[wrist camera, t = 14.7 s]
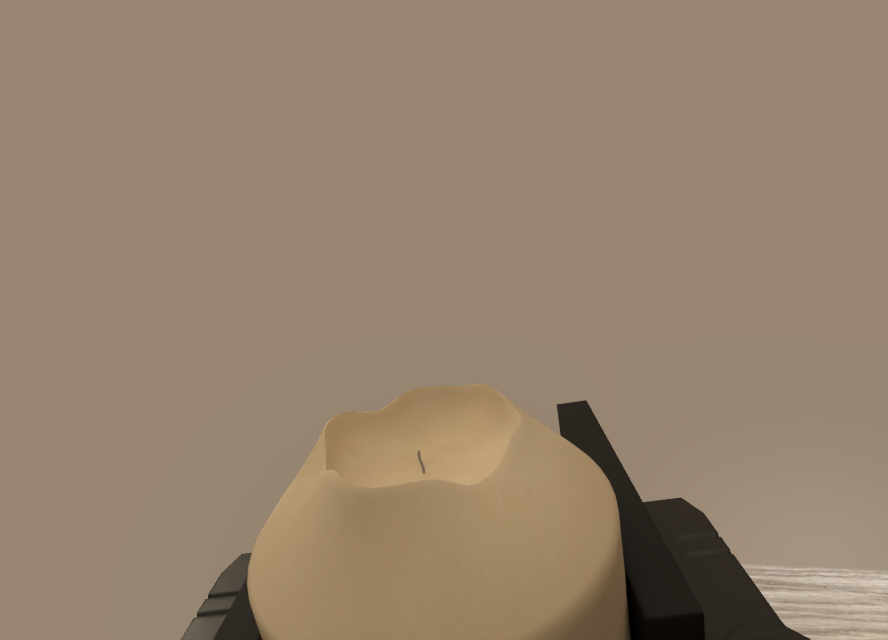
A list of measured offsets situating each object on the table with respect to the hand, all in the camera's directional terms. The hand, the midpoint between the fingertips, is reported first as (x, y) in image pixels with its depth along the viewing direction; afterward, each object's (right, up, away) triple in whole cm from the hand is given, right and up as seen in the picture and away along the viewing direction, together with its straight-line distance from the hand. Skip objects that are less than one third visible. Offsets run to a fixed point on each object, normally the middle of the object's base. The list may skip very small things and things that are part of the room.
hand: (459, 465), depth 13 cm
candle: (+1, -7, -3) cm, 8 cm away
